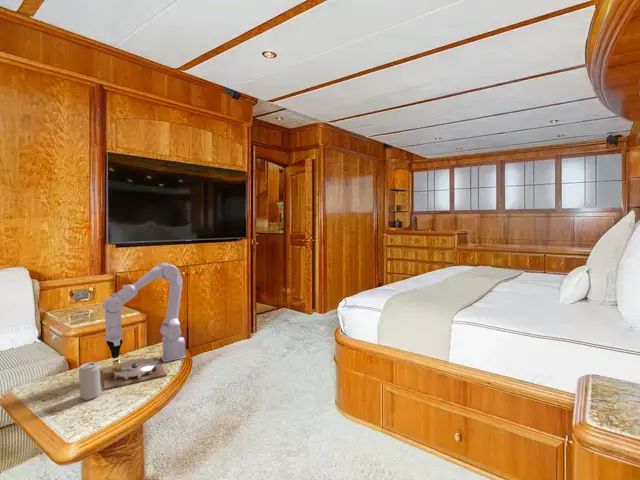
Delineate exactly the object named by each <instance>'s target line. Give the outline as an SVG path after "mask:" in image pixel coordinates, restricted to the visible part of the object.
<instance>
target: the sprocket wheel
mask: <svg viewBox="0 0 640 480" xmlns="http://www.w3.org/2000/svg"><path fill="white" fill-rule="evenodd" d="M150 358H151V359H150ZM150 358H144V357H141V358H135V359H129V360H126V361H123V362H122V360H121V359H113V361H112V366H113V367H112V368H111V371H110V376H114V379H118V378H121V379H125V380H127V379H129V378H136V377H138V378H139V377H141V376H143V375H146V374H151V373H152V371H153V370H154V369H158V361H154V360H153V359H152V358H153V357H150Z"/></svg>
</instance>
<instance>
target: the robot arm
mask: <svg viewBox="0 0 640 480" xmlns="http://www.w3.org/2000/svg"><path fill="white" fill-rule="evenodd" d="M179 269H180V268H178V267H176V265H174V264H170V263H168V262H166V261H165V262H164V261H163V262H160V263H158V264H157V265H155V266H153V267H152V268H151V269H150V270H149V271H148V272H147V273H145V274H144V275H142V276H141V278H138V280H137V281H135V282H133V284H123V286H121V287H122V288H121V289H120V290H118V291H117V292H116V293H112V294H111V296H109V297H106V298H105V299H104V301H103V303H102V308H103V309H104V321H105V325H104V326H105V336H104V337H102V340H103V341H106V342H105V343H106V345H107V346H108V348H109V352H110V354H111V357H112V359H113V360H115V359H117V358H119V357H120V350H121V347H122V344H123V343H124V341H123V338H124V337H123V331H122V330H123V329H122V314H121V309H122V308H123V306H124V305H126V304H127V302H129V301H130V300H132V299H134V298H135V297H136V296H137V295H138V291H140V290H141V289H142V288H143V287H145V286H147V285H148V284H149V283H152V281H154V280H161V279H163V280H164V279H165V280H166V281H167V282H168V283H169V292H168V297H167V298H168V300H167V307H166V315H165V318H164V319H163V320H162V325H161V327H160V329H159V333H160V334H161V335H162V339H161V340H162V355H160V358H161V359H162V361H163V363H167V362H172V361H177V360H180V359H181V360H182V359H185V358H186V342H185V338H184V337H183V336H181V335H182V331H181V322H180V321H179V320H180V319H179V314H180V305H181V298H182V290H183V281H184V280H183V277H182V276H181V273H180V270H179Z"/></svg>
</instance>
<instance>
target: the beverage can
mask: <svg viewBox="0 0 640 480" xmlns="http://www.w3.org/2000/svg"><path fill="white" fill-rule="evenodd" d="M78 379H79V380H78V382H79V395H80V399H82V400H84V401H89V400H93V399H96V398H97V397H98V396H99V395H101V391H102V390H101V389H102V387H101V371H100V365H99V362H97V361H89V362H85V363H83V364H81V365H80V366H79V369H78Z"/></svg>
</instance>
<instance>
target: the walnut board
mask: <svg viewBox="0 0 640 480" xmlns="http://www.w3.org/2000/svg"><path fill="white" fill-rule="evenodd" d="M151 358H152V359H153V360H154V361H158V369H154V370H153V371H152V373H151V374H146V375H143V376H141V377H139V378H138V377H136V378H129V379H127V380H125V379H121V378H118V379H114V376H110V371H111V368H112V367H113V365H111V366H106V367H102V368H101V370H102V379H103V389H104V391H107V390H111V389H116V388H121V387H125V386H130V385H134V384H138V383H142V382H147V381H152V380H155V379H159V378H164V377H167V372H166V371H165V368H164V367H163V365H162V363H161V360H160V358H159V357H158V356H155V357H150V358H149V359H151Z"/></svg>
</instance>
